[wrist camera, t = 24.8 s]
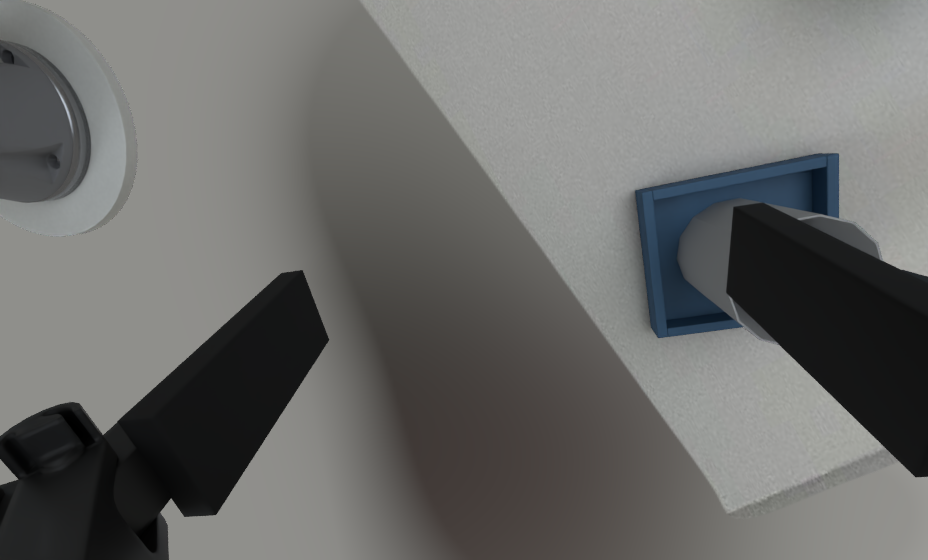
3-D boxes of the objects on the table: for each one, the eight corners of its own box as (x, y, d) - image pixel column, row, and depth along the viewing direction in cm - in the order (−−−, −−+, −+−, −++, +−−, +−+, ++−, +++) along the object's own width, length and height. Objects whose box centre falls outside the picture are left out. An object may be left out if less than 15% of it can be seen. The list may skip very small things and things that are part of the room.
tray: (651, 328, 38) (658, 338, 36) (634, 190, 35) (641, 192, 33) (820, 305, 36) (839, 314, 34) (819, 153, 33) (839, 153, 30)
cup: (799, 275, 35) (899, 320, 25) (696, 311, 37) (753, 365, 27) (768, 180, 33) (863, 190, 24) (663, 224, 35) (712, 248, 26)
